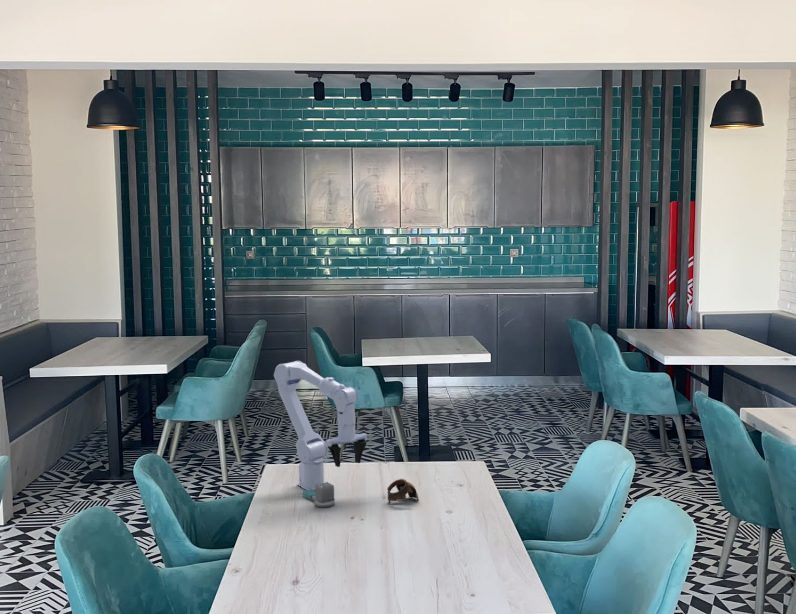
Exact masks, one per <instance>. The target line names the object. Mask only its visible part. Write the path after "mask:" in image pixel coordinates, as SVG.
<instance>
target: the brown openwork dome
mask: <svg viewBox="0 0 796 614" xmlns="http://www.w3.org/2000/svg"><path fill="white" fill-rule="evenodd" d="M394 487H395V488H396V490H397V491H396V492H391V491H392V489H394ZM407 495H408V498H409V497H411V498H412V499H416V502H417V501H419V499H420V498H419V495H418V492H417V489H416V487H415V486H414V485H413V483H411V482H408V481H407V480H406V479H404V478H399V479H396V480H394V481H392V482H391V483H390V484H389V485H388V487H387V501H388V503H389V502H390V503H391V502H397V501H400V500H402V499H405V500H407ZM411 498H410V499H411ZM419 502H420V501H419Z"/></svg>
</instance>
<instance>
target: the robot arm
mask: <svg viewBox="0 0 796 614" xmlns="http://www.w3.org/2000/svg"><path fill="white" fill-rule="evenodd" d="M273 377H274V379H275V382H276V384H277V389H278V393H279V396H280V399H281V400H282V402H283V405H284V407H285V408H284V409H286V412H287V414H288V417H289V419H290V421H291V425H292V426H293V428H294V431H295V433H296V434H297V435H296V436H297V437H298V439H297V440H296V442H295V445H294V446H295V448H296V451H297V452H296V453H297V457H298V460H299V461H300V463H299V465H298V482H297V483H296V485H297V484H298V485H299V486H298V485H297V486H298V487H300V486H301V488H302V489H303V490H305V491H306V490H313V491H315V485H316V484H321V483H325V470H324V469H325V468H324V466H325V464H324V461H325V459H326V458H325V457H326V456H327V455H328V450H329V452H330V453H331V456H332V458H333V462H334V465H335V467H336V468H340V467H341V453H342V447H340V446H339V445H343V444H349V443H350V444H351V443H353V449H354V461H355V463H357V464H361V459H362V456H363V452H364V450H365V448H366V446H367V441H368V434H367V433H358V434H356V411H355V410H356V408H355V403H356V402H357V401H358V400H359V399H358V397H359V394H358V392H357V389H355V388H354V387H353V386H345V384H343V383H340V382H337V381H336V380H335V378H334V377H332V376H331V377H329V376H328V377H323V376H321V375H319V374H318V373H316V371H314V370H312V369H311V368H310V367H308V366H307V364H306V363H304V362H302V361H301V360H295V361H291V362H287V363H279V364H278V365H276V367H275V370H274V373H273ZM302 380H304V381H305V382H307V383H308V384H309V383H310V384H312V385H313V386H316V387H317V388H318V391H319V392H320V393H321V394H323V395H324V396H326V397H328V398H329V399H331V400H333V403H334V405H335V407H336V409H335V410H336V412H337V434H338V435H337V436H335V437H333V438H328V439H326V440H323V439H322V437H321V435H320V434H319V433H317V432H315V431H314V430H313V427H312V426H311V425H312V424H311V423H310V421H309V419H308V415H307V414H306V412H305V409H304V407H303V405H302V402H301V401H300V398H299V396H298V393H297V391H296V390H297V387H298V386H299V384H300V382H301V381H302Z"/></svg>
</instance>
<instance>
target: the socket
mask: <svg viewBox="0 0 796 614" xmlns="http://www.w3.org/2000/svg"><path fill="white" fill-rule="evenodd" d="M334 486H335V485H333V484H332V483H330V482H328V481H325V482H324V483H321V484H316V485H315V490H314V491H315V493H316V500H317V501H319V502H320V503H326V502H331V501H334V499H335V487H334Z"/></svg>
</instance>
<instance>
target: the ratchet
mask: <svg viewBox="0 0 796 614" xmlns="http://www.w3.org/2000/svg"><path fill="white" fill-rule="evenodd" d="M304 496H305V497H304ZM302 497H304V498H306V499H307V498H308V500H309V499H310V500H309V501H312V502H313V503H314V506H315V508H318V509H319V508H320V509H326V508H327V509H328V508H332V507H334V506H335V503H336V499H335V498H334V501H331V502H326V503H320V502H319V501H317V500H316V493H315V490H306V489H305V490H302Z"/></svg>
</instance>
